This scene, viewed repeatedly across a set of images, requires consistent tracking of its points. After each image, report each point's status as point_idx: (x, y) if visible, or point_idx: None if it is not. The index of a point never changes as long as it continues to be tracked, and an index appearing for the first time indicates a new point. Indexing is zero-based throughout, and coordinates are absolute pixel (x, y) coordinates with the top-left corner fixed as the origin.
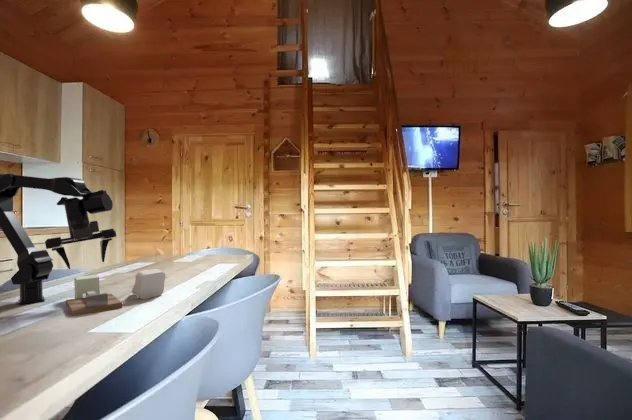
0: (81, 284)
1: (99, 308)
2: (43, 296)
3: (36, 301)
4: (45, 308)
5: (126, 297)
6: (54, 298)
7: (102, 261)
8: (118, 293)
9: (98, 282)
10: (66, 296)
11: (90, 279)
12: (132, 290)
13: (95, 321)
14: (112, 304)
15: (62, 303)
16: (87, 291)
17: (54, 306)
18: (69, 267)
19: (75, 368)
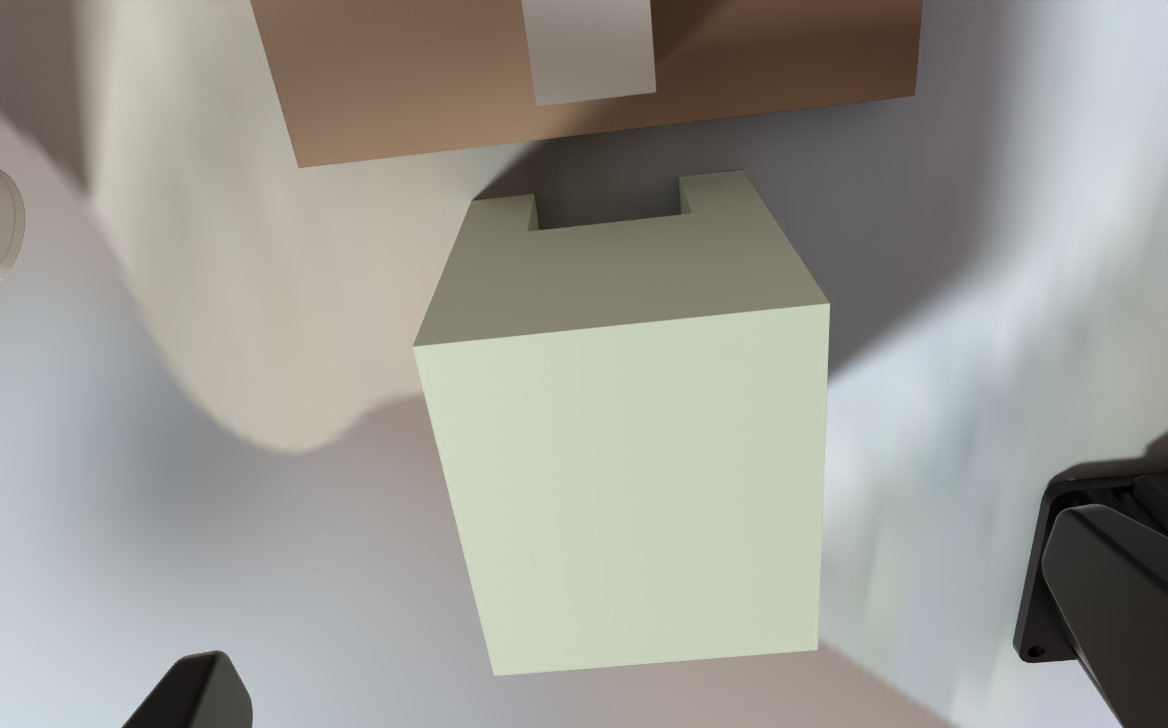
0: (729, 269)
1: None
2: (1022, 650)
3: (1129, 478)
4: (1142, 37)
5: (102, 62)
6: (927, 572)
7: (232, 682)
8: (265, 419)
9: (446, 300)
10: None
11: (577, 316)
12: (1, 215)
13: None
14: None
15: (907, 237)
16: (633, 47)
17: (1023, 99)
18: (1104, 526)
19: None
